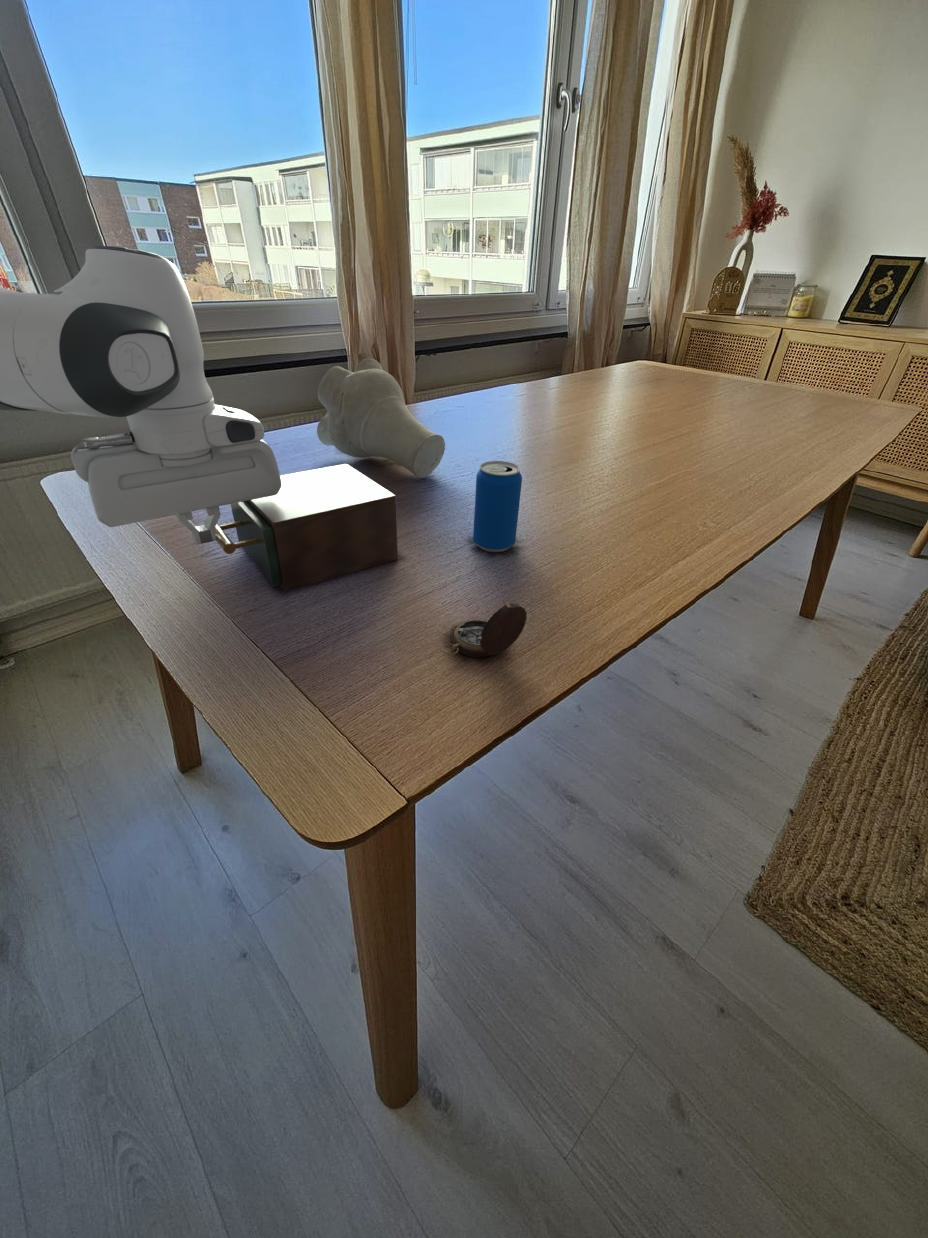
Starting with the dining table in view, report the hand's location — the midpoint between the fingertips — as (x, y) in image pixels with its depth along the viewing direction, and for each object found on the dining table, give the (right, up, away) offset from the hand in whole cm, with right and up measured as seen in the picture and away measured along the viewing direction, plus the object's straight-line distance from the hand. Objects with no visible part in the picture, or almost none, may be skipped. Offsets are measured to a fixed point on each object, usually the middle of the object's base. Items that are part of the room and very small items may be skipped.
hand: (205, 541), depth 67 cm
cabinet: (+12, 0, +11) cm, 16 cm away
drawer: (+9, -1, +8) cm, 12 cm away
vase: (+17, +21, +41) cm, 49 cm away
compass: (+33, -13, -6) cm, 37 cm away
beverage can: (+37, +2, +15) cm, 40 cm away
